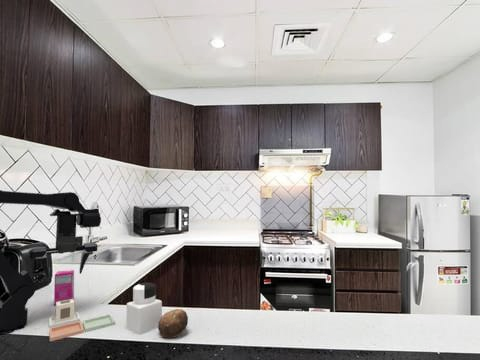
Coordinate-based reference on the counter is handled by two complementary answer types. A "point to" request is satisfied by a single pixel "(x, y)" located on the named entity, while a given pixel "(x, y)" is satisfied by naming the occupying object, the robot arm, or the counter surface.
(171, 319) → the brown potato
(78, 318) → the tray grey
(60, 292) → the supplement box
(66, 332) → the tray terracotta
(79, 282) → the counter surface
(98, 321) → the tray sage
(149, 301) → the medicine bottle
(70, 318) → the letter block
